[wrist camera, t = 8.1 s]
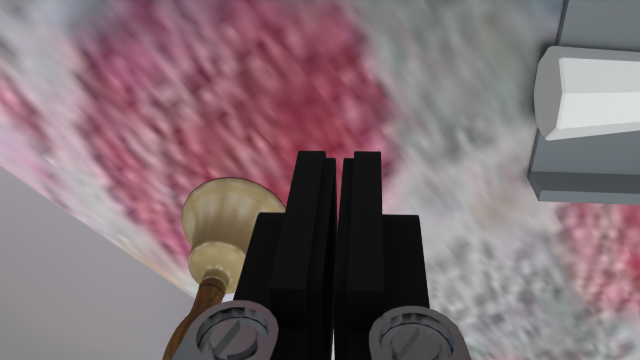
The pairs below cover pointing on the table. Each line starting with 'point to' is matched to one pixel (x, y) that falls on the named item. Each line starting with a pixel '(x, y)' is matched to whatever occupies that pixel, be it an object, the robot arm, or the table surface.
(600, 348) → the table surface
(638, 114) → the pepper shaker
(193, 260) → the hand bell
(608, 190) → the tray
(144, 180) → the table surface
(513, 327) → the table surface
